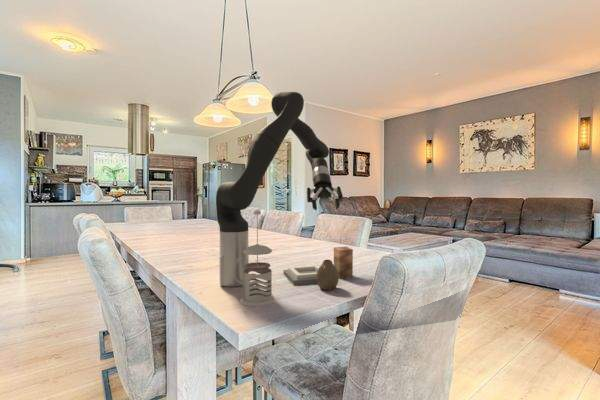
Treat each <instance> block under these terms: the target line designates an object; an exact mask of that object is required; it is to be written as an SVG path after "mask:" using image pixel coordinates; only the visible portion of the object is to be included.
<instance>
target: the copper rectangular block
mask: <svg viewBox="0 0 600 400" xmlns="http://www.w3.org/2000/svg"><path fill="white" fill-rule="evenodd" d="M353 251H354V250H353V248H352V247H348V246H338V247H333V265H334V266H335V267H336V269H337V271H338V274H339V280H342V279H344V280H345V279H353V278H354V277H353V276H354V275H353V273H354V272H353V270H354V268H353V265H354V263H353V261H354V260H353V259H354V256H353V255H354V254H353V253H354V252H353Z"/></svg>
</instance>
